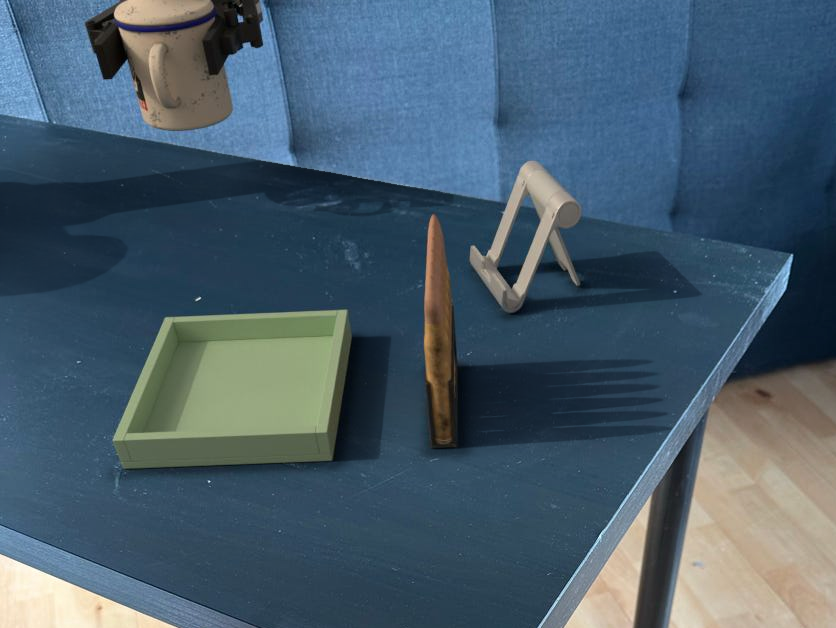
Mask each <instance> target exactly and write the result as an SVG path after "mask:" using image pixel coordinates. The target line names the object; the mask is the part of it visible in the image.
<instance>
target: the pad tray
mask: <svg viewBox="0 0 836 628" xmlns="http://www.w3.org/2000/svg"><path fill="white" fill-rule="evenodd" d="M351 329H352V328H351V323H350V316H349V310H348V309H333V310H308V311H306V310H305V311H285V312H283V311H282V312H259V313H240V314H237V313H236V314H234V313H233V314H215V315H214V314H213V315H191V316H190V315H189V316H188V315H187V316H166V317H164V319H163V322H162V324H161V326H160V329H159V331H158V334H157V335H156V338H155V340H154V342H153V344H152V347H151V350H150V352H149V355H148V357H147V359H146V361H145V364H144V365H143V368H142V371H141V373H140V375H139V378H138V379H137V382H136V384H135V387H134V389H133V391H132V393H131V396H130V399H129V401H128V403H127V406H126V408H125V410H124V412H123V415H122V417H121V419H120V422H119V424H118V426H117V429H116V432H115V434H114V436H113V438H112V444H113V446H114V448H115V451H116V453H117V456H118V458H119V461H120V463H121V466H122V468H123V470H126V469H127V470H129V469H149V468H150V469H153V468H154V469H156V468H157V469H158V468H177V467H178V468H179V467H202V466H204V467H205V466H207V467H208V466H231V465H258V464H259V465H260V464H261V465H262V464H282V463H285V464H286V463H309V462H312V463H313V462H332V461H333V459H334V453H335V448H336V447H335V446H336V441H337V434H338V427H339V422H340V415H341V408H342V401H343V394H344V389H345V383H346V376H347V370H348V365H349V355H350V352H351V345H352V339H353V336H352V330H351Z"/></svg>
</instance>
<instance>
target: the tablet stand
mask: <svg viewBox="0 0 836 628" xmlns="http://www.w3.org/2000/svg"><path fill="white" fill-rule="evenodd" d="M527 196H530V199H531V202H532V204H533V207H534V209H535V211H536V214H537V217H538V218H539V225H538V227H537V229H536V232H535V235H534V236H533V240H532V242H531V245H530V247H529V249H528V252H527V255H526V257H525V260H524V263H523V264H522V267H521V270H520V272H519V275H518V278H517V280H516V282H515V283H514V284H513V285H512V287H511V286H510V285H509V284H508V282H507V281H506V279H504V276H502V274H501V273H500V272H499V270H498V266H499V264H500V261H501V259H502V255H503V254H504V251H505V248H506V245H507V243H508V240H509V237H510V234H511V232H512V229H513V227H514V223H515V221H516V218H517V216H518V213H519V210H520V208H521V205H522V203H523V200H524V198H526V197H527ZM581 218H582V207H581V205H580V203H579V202H578V201H577V200H576V199H575V198H574V197H573V196H572V195H571V194H570V193H569V192H568V191H567V190H566V188H564V187H563V186H562V185H561V183H559V182H558V181H557V180H556V178H554V177H553V176H552V175H551V174H550V173H549V172H548V171H547V170H546V168H544V166H542V164H540V162H538V161H536V160H529V161H527V162H525V163H524V164H522V165H521V167H520V169H519V171H518V173H517V177H516V179H515V182H514V184H513V188H512V190H511V193H510V196H509V197H508V201H507V204H506V207H505V209H504V211H503V215H502V217H501V220H500V222H499V225H498V228H497V230H496V232H495V233H496V234H495V236H494V239H493V242H492V244H491V247H490V249H488V251H487V253H486V256H485V255H482V253H481V252H480V251H479V249H478V248H477V247H476V245H470V250H469V251H470V253H469V263H470V265H471V266H472V268H473V269H474V270H475V272H476V273H477V274H478V276H479V278H480V279H481V280H482V282H483V284H485V286H486V287H487V289H488V290H489V291H490V293H491V294H492V296H493V298H495V300H496V302H497V303H498V305H499V306H500V307H501V308H502V310H503V311H504V312H505V313H509V314H513V313H516V312H518V311H519V310H520V309H522V307H523V305H524V302H525V300H526V297H527V295H528V292H529V290H530V287H531V285H532V282H533V280H534V277H535V275H536V272H537V270H538V268H539V265H540V263H541V260H542V258H543V255H544V252H545V250H546V248H547V245H548V243H549V245H550V247H551V250H552V252H553V255H554V257H555V259H556V262H557V264H558V265H559V267H560V268H561V269H562V270H563V271H564V272H565V271H568V273H569V275H570V278H571V280H572V282H573V283H574V284H575V285H576V287H580V286H581V281H580V280H579V277H578V275H577V272H576V270H575V267H574V265H573V262H572V260H571V257H570V254H569V252H568V250H567V247H566V245H565V242H564V240H563V238H562V235H561V233H560V228H561V229H566V230H567V229H571V228H573V227H575V226H576V225H577V224H578V223H579V221H580V219H581Z"/></svg>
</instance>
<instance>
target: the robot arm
mask: <svg viewBox="0 0 836 628" xmlns="http://www.w3.org/2000/svg"><path fill="white" fill-rule="evenodd" d="M125 1H127V0H119V1H117V3H115V4H113V5H112V6H110V7H108V8H106V9H105V10H103V11H101V12H99V13H98V14H96V15H95V16H93V17H91V18H89V19H87V20H86V21H85V22H84V25H85V28H86V32H87V36H88V39H89V42H90V46H91V49H92V52H93V54H95V57H96V59H97V63H98V66H99V69H100V73H101V76H102V80H104V81H105V80H113V78H115V76H116V75H117V73H118V72H119V71H120V69H121V68H122V67H123V66H124V64H125V63H126V62H127V61H128V60H127V56H126V53H125V49H124V45H123V42H122V38H121V34H120V31H119V27H118V26H117V25H116V24H115V22H114V12H115V9H116V7H117V6H118V5H120V4H121V3H123V2H125ZM211 2H212V3H213V5H214V7H215V9H216V15H215V21H214V22H213V24H212V25H211V27H210V29H209V30H208V32H207V33H206V35H205V36H204V38H203V40H202V43H203V47H204V52H205V56H206V61H207V66H208V70H209V75H218V74H219V72H220V70H221V69H222V67H223V65H225V63H226V61H227V60H228V58H229V56H233V55H235V54H237V53H238V51H241V50H243V49H244V44H246V43H249V45H250V47H251V48H254V49H260V48H262V47H263V46H264V40H263V39H264V38H263V35H262V29H261V23H262V22H264V17H263V12H262V11H263V10H262V5H261V0H211ZM239 16H240V17H242V21H239Z"/></svg>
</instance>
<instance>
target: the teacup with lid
mask: <svg viewBox="0 0 836 628" xmlns="http://www.w3.org/2000/svg"><path fill="white" fill-rule="evenodd" d="M215 15H216V9H215V7H214V5H213V3H212V2H211V0H127V1H125V2H123V3H121V4H120V5H118V6H117V7H116V9H115V12H114V22H115V24H116V25H117V26H118V27H119V31H120V34H121V38H122V42H123V45H124V49H125V53H126V56H127V60H126V61H127V63H128V68H129V71H130V75H131V78H132V82H133V87H134V90H135V93H136V97H137V101H138V104H139V109H140V112H141V115H142V119H143V121H144V122H145V123H146V124H147V125H148V126H149V127H151V128H154V129H157V130H160V131H161V130H162V131H169V132H185V131H186V132H187V131H194V130H201V129H205V128H209V127H211V126H215V125H218V124H220V123H222V122H224V121H225V120H227V119H228V118H229V117H230V116H231V115H232V113H233V110H234V104H233V100H232V96H231V91H230V85H229V80H228V76H227V71H226V65H225V64H224V65H223V67H222V69H221V70H220V72H219V74H218V75H209V70H208V66H207V61H206V56H205V52H204V47H203V43H202V40H203V38H204V36H205V35H206V33H207V32H208V30H209V29H210V27H211V25H212V24H213V22H214V21H215Z"/></svg>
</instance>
